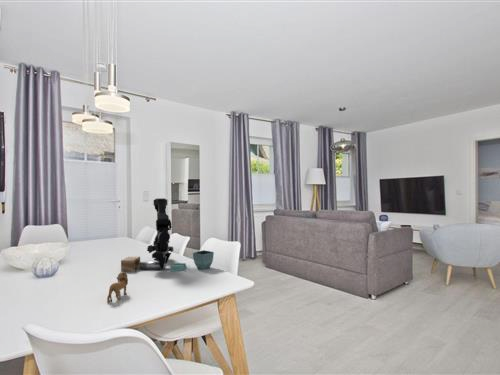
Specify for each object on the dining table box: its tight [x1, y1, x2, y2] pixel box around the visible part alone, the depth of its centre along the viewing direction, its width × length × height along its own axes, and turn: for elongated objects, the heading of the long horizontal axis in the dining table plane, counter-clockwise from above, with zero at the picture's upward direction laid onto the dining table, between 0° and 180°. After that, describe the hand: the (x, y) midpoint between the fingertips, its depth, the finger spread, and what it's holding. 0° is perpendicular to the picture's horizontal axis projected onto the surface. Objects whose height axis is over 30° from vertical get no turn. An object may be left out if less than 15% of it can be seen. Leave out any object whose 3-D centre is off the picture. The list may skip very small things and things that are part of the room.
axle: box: [139, 261, 167, 270], centre depth 164 cm, size 4×14×4 cm, turn 87°
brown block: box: [120, 256, 141, 272], centre depth 165 cm, size 9×7×6 cm
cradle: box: [169, 262, 187, 272], centre depth 163 cm, size 8×7×2 cm
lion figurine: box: [107, 271, 129, 303], centre depth 120 cm, size 15×5×9 cm, turn 6°
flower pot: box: [192, 249, 215, 270], centre depth 165 cm, size 9×9×9 cm
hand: (163, 267), depth 164 cm, fingers closed on axle, 4 cm apart
